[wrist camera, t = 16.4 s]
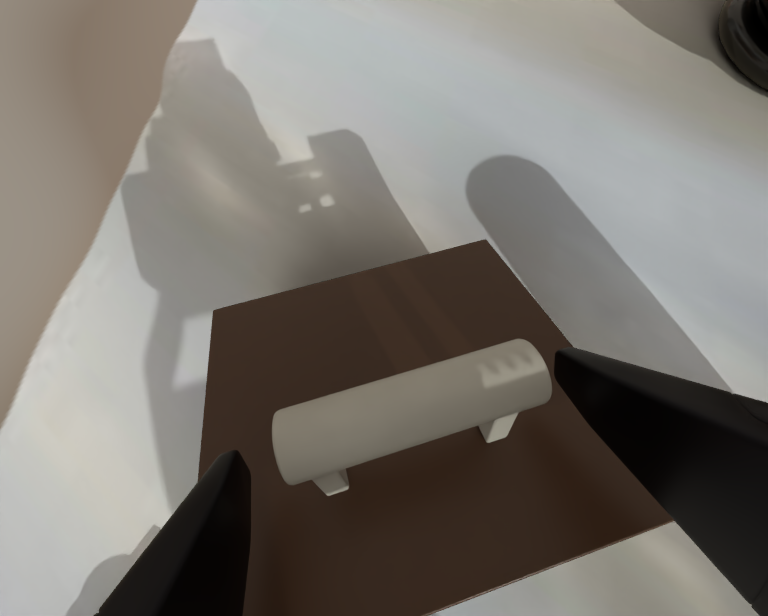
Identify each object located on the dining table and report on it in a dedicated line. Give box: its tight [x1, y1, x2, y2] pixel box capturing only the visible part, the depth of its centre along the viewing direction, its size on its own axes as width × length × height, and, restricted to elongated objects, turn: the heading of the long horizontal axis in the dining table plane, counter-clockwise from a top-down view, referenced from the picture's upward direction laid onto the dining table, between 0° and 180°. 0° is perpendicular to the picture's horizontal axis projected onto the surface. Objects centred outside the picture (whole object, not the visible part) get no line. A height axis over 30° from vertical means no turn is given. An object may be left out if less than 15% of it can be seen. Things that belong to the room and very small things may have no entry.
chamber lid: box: [198, 239, 674, 616], centre depth 11 cm, size 12×13×5 cm
